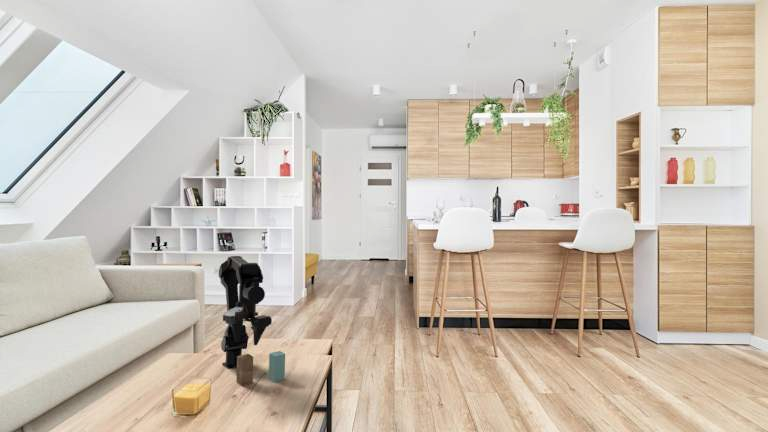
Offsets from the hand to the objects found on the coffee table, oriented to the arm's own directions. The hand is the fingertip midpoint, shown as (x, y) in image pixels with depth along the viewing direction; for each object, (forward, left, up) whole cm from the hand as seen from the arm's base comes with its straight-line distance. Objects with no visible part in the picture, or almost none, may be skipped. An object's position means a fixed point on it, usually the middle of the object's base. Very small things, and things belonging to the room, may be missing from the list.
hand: (246, 343), depth 143 cm
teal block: (+7, +8, -13) cm, 17 cm away
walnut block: (+3, -2, -13) cm, 13 cm away
